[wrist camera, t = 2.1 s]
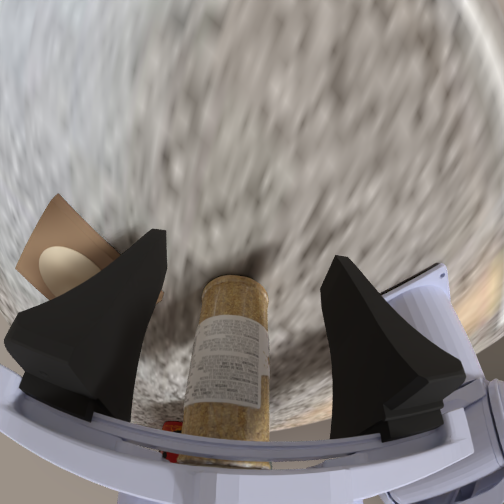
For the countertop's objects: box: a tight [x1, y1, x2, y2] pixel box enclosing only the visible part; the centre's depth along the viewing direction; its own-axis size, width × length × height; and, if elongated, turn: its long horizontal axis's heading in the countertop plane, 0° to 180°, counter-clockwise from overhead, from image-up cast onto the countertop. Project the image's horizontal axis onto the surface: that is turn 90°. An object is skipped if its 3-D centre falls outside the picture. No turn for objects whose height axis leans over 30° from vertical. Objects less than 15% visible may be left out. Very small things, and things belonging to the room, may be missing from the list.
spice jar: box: [177, 275, 271, 470], centre depth 13 cm, size 5×5×14 cm
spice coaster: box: [15, 193, 164, 304], centre depth 18 cm, size 10×10×1 cm
